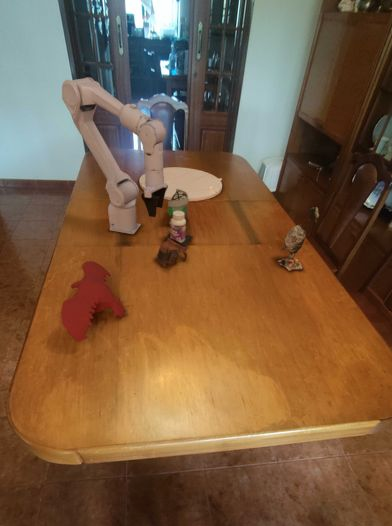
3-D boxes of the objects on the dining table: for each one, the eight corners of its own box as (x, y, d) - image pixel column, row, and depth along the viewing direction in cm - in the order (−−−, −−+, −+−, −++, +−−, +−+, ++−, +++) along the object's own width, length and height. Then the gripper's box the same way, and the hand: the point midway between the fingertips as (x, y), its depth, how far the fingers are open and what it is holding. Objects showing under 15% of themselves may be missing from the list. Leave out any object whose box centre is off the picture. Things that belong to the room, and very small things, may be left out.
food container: (183, 230, 120) (184, 203, 113) (168, 227, 120) (168, 200, 113) (190, 216, 128) (192, 190, 121) (176, 214, 129) (176, 188, 122)
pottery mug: (152, 256, 107) (162, 233, 104) (177, 267, 111) (188, 245, 108) (157, 267, 97) (168, 242, 94) (184, 278, 101) (195, 255, 98)
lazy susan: (237, 184, 156) (238, 176, 154) (194, 209, 133) (195, 201, 130) (171, 164, 169) (171, 157, 167) (122, 185, 146) (121, 176, 143)
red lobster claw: (119, 294, 98) (78, 260, 89) (140, 279, 93) (99, 242, 85) (96, 364, 78) (42, 329, 70) (121, 349, 74) (66, 310, 65)
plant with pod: (294, 254, 113) (313, 196, 98) (305, 272, 105) (327, 212, 90) (272, 254, 112) (288, 196, 97) (281, 272, 104) (300, 212, 90)
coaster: (163, 243, 112) (163, 243, 112) (169, 233, 117) (169, 232, 117) (185, 247, 111) (185, 246, 111) (190, 237, 117) (190, 236, 116)
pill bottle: (167, 241, 113) (167, 214, 106) (173, 234, 116) (174, 208, 109) (181, 244, 112) (182, 217, 105) (187, 238, 115) (188, 211, 108)
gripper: (159, 177, 93) (160, 222, 102) (172, 162, 102) (172, 205, 112) (136, 174, 93) (140, 219, 103) (151, 159, 103) (153, 202, 113)
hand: (155, 211), depth 108 cm, fingers open, 7 cm apart
